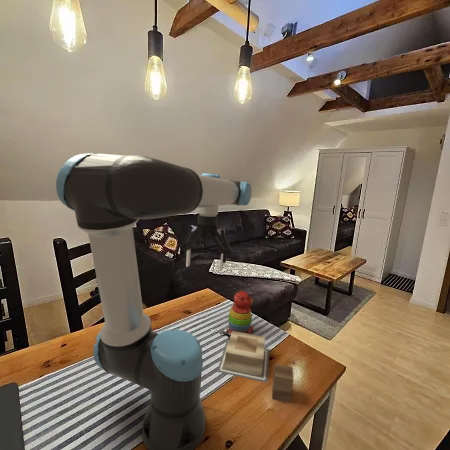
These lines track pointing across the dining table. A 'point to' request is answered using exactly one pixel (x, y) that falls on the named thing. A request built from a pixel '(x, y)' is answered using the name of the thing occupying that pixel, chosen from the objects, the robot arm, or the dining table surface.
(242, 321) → the stacking bear
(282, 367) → the walnut block
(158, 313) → the dining table surface
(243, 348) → the plinth block
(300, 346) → the dining table surface
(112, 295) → the robot arm
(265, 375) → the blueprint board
